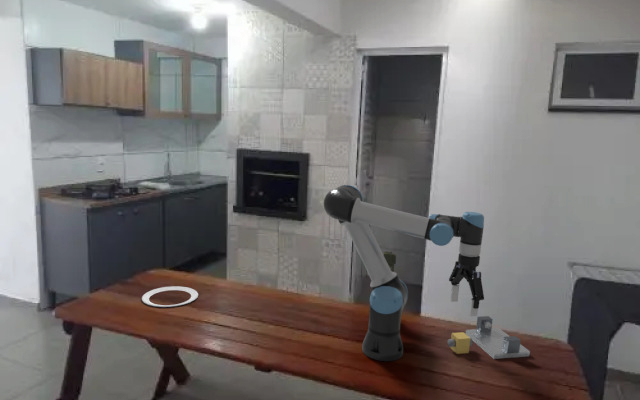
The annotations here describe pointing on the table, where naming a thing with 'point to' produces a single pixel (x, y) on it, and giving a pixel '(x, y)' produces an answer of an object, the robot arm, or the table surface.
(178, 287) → the flat white ring
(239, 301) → the table surface
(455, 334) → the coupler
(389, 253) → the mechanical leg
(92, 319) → the table surface
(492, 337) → the grey mounting plate
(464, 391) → the table surface
